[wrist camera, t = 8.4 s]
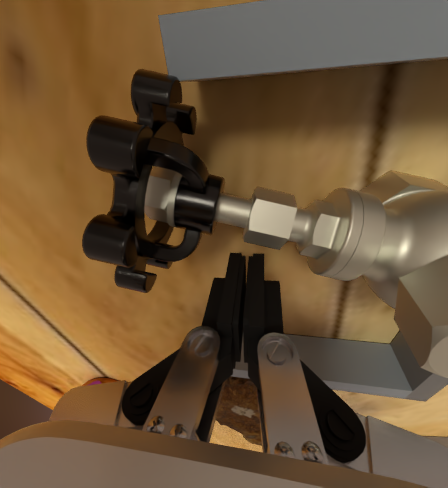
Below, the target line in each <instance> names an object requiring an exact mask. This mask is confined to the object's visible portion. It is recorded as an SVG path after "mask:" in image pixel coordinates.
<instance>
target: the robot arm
mask: <svg viewBox="0 0 448 488" xmlns="http://www.w3.org/2000/svg"><path fill="white" fill-rule="evenodd" d="M242 337H243V344H244V363H248V377H249V378H250V379H251V381H252V382H253V383H254V385H255V386H256V393H257V402H258V412H259V421H260V430H261V440H262V449H263V453H262V452H257V451H251V450H246V449H240V448H235V447H229V446H224V445H218V444H213V443H209V442H210V438H211V435H212V431H213V427H214V423H215V420H216V416H217V412H218V408H219V405H220V401H221V397H222V394H223V390H224V386H225V381H226V380H227V379H228V378H229V377H230V376H231V375H233V369H235V366H236V362H240V360H241V349H242ZM0 488H448V448H446V447H445V446H443V445H441V444H439V443H437V442H435V441H433V440H430V439H427V438H425V437H422V436H420V435H417V434H415V433H412V432H409V431H407V430H404V429H402V428H399V427H397V426H394V425H391V424H389V423H386V422H384V421H381V420H379V419H376V418H373V417H371V416H367V417H365V416H362V415H360V414H357V413H355V412H354V411H353V410H352V409H351V408H350V407H349V406H348V405H347V404H346V403H345V402H344V401H343V400H342V399H341V398H340V397H339V396H338V395H337V394H336V393H335V392H334V391H333V390H332V389H330V388H329V387H328V386H327V385H326V384H325V383H324V382H323V381H322V380H321V379H320V378H319V377H318V376H317V375H316V374H315V373H314V372H313V371H312V370H311V369H310V368H309V367H308V366H307V365H306V364H305V363H304V362H302V361H301V360H300V359H299V355H298V351H297V349H296V346H295V344H294V343H293V342H292V340H291V339H290V338H288V337H287V336H285V335H284V333H283V320H282V307H281V294H280V283H279V281H265V280H264V254H253V256H249V260H248V271H247V283H246V258H245V256H242V255H241V253H230V257H229V262H228V267H227V272H226V277H225V278H214V280H213V283H212V287H211V291H210V295H209V299H208V303H207V307H206V311H205V314H204V318H203V322H202V326H200V327H196V328H194V329H192V330H191V331H190V332H189V333H188V334H187V336H186V337H185V339H184V341H183V343H182V345H181V348H180V349H179V350H177V351H176V352H174V353H173V354H171V355H170V356H168V357H167V358H165V359H164V360H163V361H161V362H160V363H158V364H157V365H155V366H154V367H152V368H151V369H149V370H148V371H147V372H145V373H144V374H142V375H141V376H139V377H138V378H136V379H135V380H134V381H132V382H126V381H125V380H124V381H116V382H109V383H102V384H94V385H87V386H79V387H76V388H73V389H71V390H70V391H68V392H67V393H65V394H64V395H63V396H62V397H61V398H60V399H59V401H58V403H57V404H56V406H55V408H54V410H53V412H52V415H51V416H50V419H49V421H48V422H43V423H39V424H35V425H31V426H29V427H26V428H23V429H20V430H18V431H16V432H14V433H12V434H10V435H8V436H6V437H4V438H3V439H1V440H0Z"/></svg>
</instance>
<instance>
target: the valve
mask: <svg viewBox="0 0 448 488" xmlns="http://www.w3.org/2000/svg"><path fill="white" fill-rule="evenodd" d="M131 100H132V105H133V109H134V111H135V113H136V115H137V123H136V122H131V121H127V120H122V119H118V118H114V117H109V116H98V117H96V118H95V119H94V120H93V121H92V122H91V124H90V126H89V129H88V132H87V151H88V155H89V157H90V160H91V162H92V163H93V165H94V166H95V167H96V168H97V169H99V170H101V171H103V172H107V173H110V174H111V175H112V176H113V181H114V188H113V201H112V206H111V208H110V211H109V212H108V214H107V215H105V214H101V215H97V216H96V217H94V218H93V219H92V220H91V221H90V222H89V223H88V225H87V227H86V229H85V231H84V234H83V239H82V247H83V251H84V253H85V255H86V256H87V257H88V258H90V259H92V260H97V261H101V262H105V263H109V264H114V265H117V267H116V271H115V283H116V285H117V286H118V287H122V288H126V289H130V290H135V291H139V292H143V293H148V292H149V291H150V290H151V289H152V287H153V285H154V283H155V280H156V277H157V275H156V274H153V273H149V272H145V269H146V264H148V265H152V266H156V267H161V268H165V269H169V268H170V267H171V265H172V262H175V261H179V260H182V259H184V258H186V257H188V256H189V255H190V254H191V253H192V252H194V250H195V249H196V248H197V246H198V245H199V243H200V240H201V237H202V233H203V234H207V235H212V234H213V233H214V230H215V227H216V224H217V222H219V223H224V224H228V225H233V226H237V227H241V228H244V231H243V240H244V242H247V243H252V244H256V245H261V246H265V247H269V248H274V249H278V250H280V249H281V247H282V246H283V245H284V244H285V243H286V242H287V241H292V242H296V246H297V249H298V251H299V253H300V255H304V256H307V262H308V265H309V268H310V269H311V271H312V272H313V273H315V274H317V275H321V276H325V277H330V278H334V279H338V280H343V281H350V280H353V279H356V278H358V277H359V276H361V275H363V277H364V279H365V281H366V282H367V284H368V285H369V287H370V288H371V289H372V290H373V291H374V292H375V293H376V295H377V296H378V297H379V298H380V299H382V300H383V301H384V302H385V303H387V304H388V305H390V306H391V307H392V308H394V309H395V315H394V320H395V322H396V324H397V325H398V327H399V329H400V331H401V333H402V335H403V336H404V338H405V340H406V342H407V344H408V346H409V347H410V349H411V351H412V353H413V355H414V357H415V358H416V360H417V362H418V364H419V366H420V368H423V369H425V370H427V371H429V372H432V373H434V374H437V375H439V376H442V377H445V378H448V187H446V186H445V185H443V184H441V183H440V182H438V181H435V180H432V179H428V178H423V177H419V176H415V175H410V174H406V173H401V172H396V171H389V172H388V173H386V174H384V175H382V176H381V177H379V178H378V179H376V180H375V181H374V182H372V183H371V184H369V185H368V186H366V187H365V188H364V189H362V190H361V191H355V190H351V189H347V188H338V189H335V190H333V191H332V192H331V193H329V194H328V195H327V196H326V198H325V199H324V200H323V201H319V200H314V201H313V202H312V203H310V204H309V205H308V206H307V208H306V209H302V208H298V207H297V205H296V201H295V197H294V195H292V194H288V193H284V192H279V191H275V190H270V189H266V188H261V187H257V188H256V189H255V190H254V192H253V194H252V197H251V199H247V198H242V197H238V196H234V195H229V194H225V193H223V192H224V185H225V179H224V178H223V177H220V176H215V175H211V174H209V173H208V170H207V167H206V165H205V164H204V162H203V161H202V160H201V159H200V158H199V157H198V156H197V155H196V154H195V153H194V152H192V151H191V150H189V149H188V148H186V147H185V146H184V143H183V139H182V134H183V133H187V134H191V135H194V134H195V129H196V120H197V115H196V109H195V107H193V106H189V105H185V104H180V103H182V88H181V84H180V81H179V79H178V78H177V77H176V76H172V75H167V74H163V73H158V72H154V71H149V70H145V69H139V70H137V71H136V72H135V74H134V76H133V79H132V84H131ZM152 166H156V167H155V168H154V169H152ZM151 169H152V170H151ZM144 212H145V214H146V215H147V216H148V217H149V218H150V219H153V220H157V221H156V223H155V225H154V227H153V229H152V230H151V232H150V233H149V234H148V235H147V233H146V228H145V221H144ZM174 227H176V228H181V229H185V234H184V239H183V241H182V243H181V244H180V245H177V246H173V245H168V244H167V242H168V240H169V238H170V236H171V233H172V231H173V228H174Z"/></svg>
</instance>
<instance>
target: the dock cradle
mask: <svg viewBox="0 0 448 488" xmlns="http://www.w3.org/2000/svg"><path fill="white" fill-rule="evenodd" d="M158 18H159V23H160V29H161V35H162V41H163V46H164V52H165V58H166V64H167V69H168V75H172V76H176V77H177V78H178V79H179V81H180V82H183V81H206V80H218V79H229V78H240V77H252V76H263V75H274V74H285V73H297V72H308V71H319V70H330V69H342V68H353V67H364V66H375V65H387V64H398V63H409V62H421V61H432V60H443V59H448V0H264V1H257V2H250V3H243V4H236V5H229V6H222V7H215V8H208V9H201V10H194V11H187V12H179V13H172V14H165V15H158ZM284 335H285V336H287V337H288V338H290V339H291V340H292V342H293V343H294V344H295V346H296V349H297V351H298V355H299V359H300V360H301V361H302V362H304V363H305V364H306V365H307V366H308V367H309V368H310V369H311V370H312V371H313V372H314V373H315V374H316V375H317V376H318V377H319V378H320V379H321V380H322V381H323V382H324V383H325V384H326V385H327V386H328V387H329V388H330V389H333V390H341V391H348V392H356V393H364V394H371V395H379V396H387V397H395V398H402V399H410V400H418V401H427V400H428V399H429V398H431V397H432V396H433V395H435V394H436V393H437V392H438V391H440V390H441V389H442V388H444V387H445V386H446V385H448V378H445V377H442V376H439V375H437V374H434V373H432V372H429V371H427V370H425V369H423V368H420V366H419V364H418V362H417V360H416V358H415V357H414V355H413V353H412V351H411V349H410V347H409V346H408V344H407V342H406V340H405V338H404V336H403V335H402V333H401V331H399V333H398V334H397V335H396V337H395V338H394V339H393V341H392V342H391V343H390V344H383V343H373V342H362V341H352V340H341V339H331V338H320V337H310V336H299V335H289V334H284ZM231 376H233V377H240V378H248V379H250V378H249V377H248V363H244V344H243V337H242V349H241V360H240V362H236V366H235V369H233V375H231Z"/></svg>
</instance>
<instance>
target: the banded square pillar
mask: <svg viewBox="0 0 448 488" xmlns="http://www.w3.org/2000/svg"><path fill="white" fill-rule="evenodd" d="M422 437H425V438H427V439H430V440H433V441H435V442H437V443H439V444H441V445H443V446H445V447H446V448H448V437H430V436H422Z"/></svg>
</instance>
